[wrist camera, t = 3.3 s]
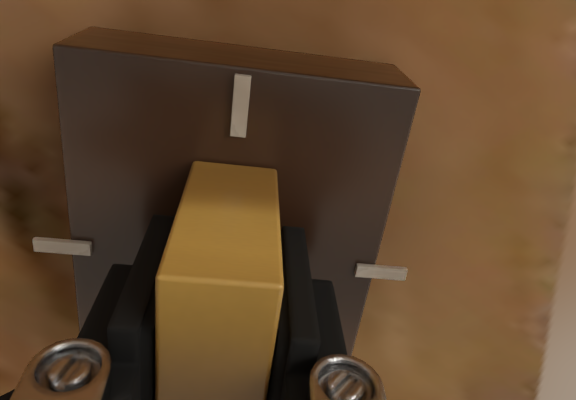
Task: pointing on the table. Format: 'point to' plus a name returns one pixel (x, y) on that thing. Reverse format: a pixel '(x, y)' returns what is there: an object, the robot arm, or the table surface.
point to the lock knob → (220, 286)
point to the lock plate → (228, 147)
